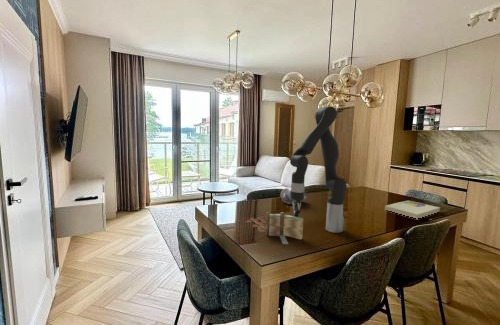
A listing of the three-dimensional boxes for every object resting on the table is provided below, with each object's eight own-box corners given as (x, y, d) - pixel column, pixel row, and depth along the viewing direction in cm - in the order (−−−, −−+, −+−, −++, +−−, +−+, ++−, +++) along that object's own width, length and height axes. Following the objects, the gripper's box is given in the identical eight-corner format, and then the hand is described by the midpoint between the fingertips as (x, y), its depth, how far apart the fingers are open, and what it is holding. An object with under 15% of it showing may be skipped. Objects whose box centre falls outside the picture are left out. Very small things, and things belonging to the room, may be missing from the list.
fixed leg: (283, 233, 143) (284, 212, 141) (283, 235, 140) (284, 213, 139) (265, 233, 142) (265, 212, 140) (265, 235, 140) (266, 213, 138)
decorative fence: (263, 218, 170) (244, 221, 164) (263, 216, 170) (244, 219, 163) (282, 230, 150) (261, 234, 143) (283, 228, 150) (261, 231, 143)
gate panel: (283, 235, 140) (284, 215, 138) (284, 234, 142) (285, 214, 140) (301, 239, 135) (302, 219, 133) (302, 238, 136) (303, 218, 135)
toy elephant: (297, 200, 221) (295, 184, 222) (310, 201, 206) (308, 184, 207) (279, 205, 211) (277, 187, 212) (292, 206, 196) (290, 187, 197)
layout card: (300, 233, 145) (300, 232, 145) (308, 244, 130) (308, 243, 130) (260, 233, 144) (260, 232, 144) (263, 244, 129) (263, 244, 129)
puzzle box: (384, 211, 195) (417, 220, 174) (384, 205, 194) (417, 214, 174) (408, 205, 213) (440, 213, 193) (408, 200, 213) (441, 207, 192)
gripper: (307, 193, 131) (305, 224, 133) (301, 187, 144) (299, 216, 146) (293, 193, 131) (291, 224, 133) (288, 187, 144) (287, 216, 146)
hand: (295, 220), depth 140 cm, fingers closed
